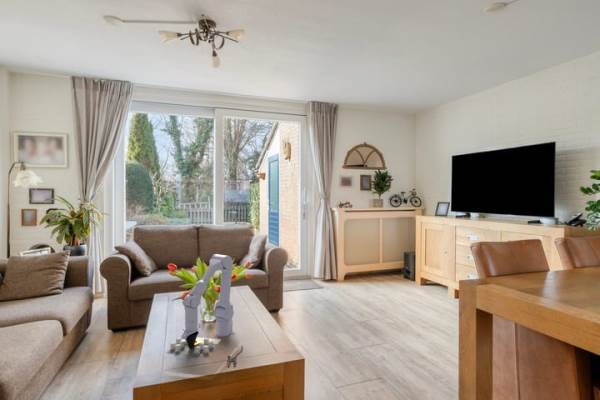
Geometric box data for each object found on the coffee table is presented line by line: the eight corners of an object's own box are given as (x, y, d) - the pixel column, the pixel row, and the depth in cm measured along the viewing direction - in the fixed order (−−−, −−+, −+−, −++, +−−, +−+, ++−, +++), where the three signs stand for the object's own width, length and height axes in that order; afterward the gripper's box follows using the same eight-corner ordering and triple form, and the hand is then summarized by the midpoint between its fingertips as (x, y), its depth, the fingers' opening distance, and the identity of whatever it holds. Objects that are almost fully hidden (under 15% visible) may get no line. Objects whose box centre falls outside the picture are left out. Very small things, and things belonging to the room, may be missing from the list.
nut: (186, 347, 157) (186, 343, 157) (191, 343, 162) (191, 339, 162) (197, 348, 156) (197, 344, 156) (202, 344, 161) (202, 340, 161)
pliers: (241, 343, 164) (249, 363, 145) (241, 345, 164) (249, 365, 145) (222, 346, 160) (227, 367, 142) (222, 348, 160) (227, 369, 142)
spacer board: (185, 338, 170) (185, 330, 170) (221, 341, 166) (221, 333, 166) (165, 355, 152) (165, 346, 152) (205, 359, 149) (205, 350, 149)
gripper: (191, 313, 163) (191, 340, 163) (175, 325, 149) (175, 354, 149) (204, 314, 162) (204, 341, 162) (189, 326, 148) (189, 355, 148)
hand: (191, 347), depth 156 cm, fingers closed
